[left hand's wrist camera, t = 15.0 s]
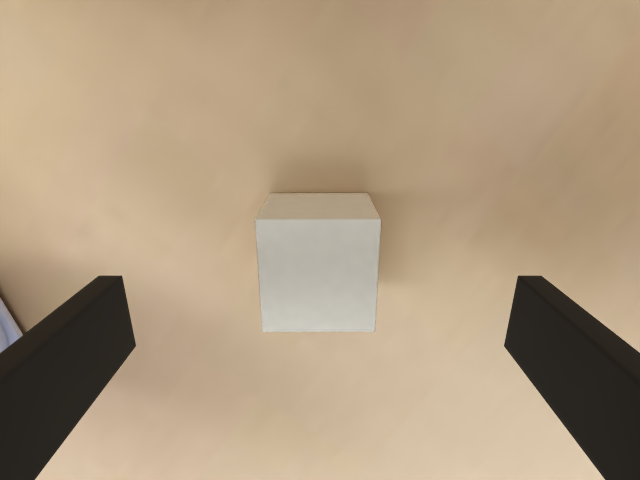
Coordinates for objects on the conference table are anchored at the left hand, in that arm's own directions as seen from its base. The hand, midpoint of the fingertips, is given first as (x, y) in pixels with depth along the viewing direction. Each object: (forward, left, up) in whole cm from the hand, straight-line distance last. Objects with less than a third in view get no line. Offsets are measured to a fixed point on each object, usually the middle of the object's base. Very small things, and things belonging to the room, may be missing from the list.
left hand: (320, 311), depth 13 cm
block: (0, 0, -7) cm, 7 cm away
